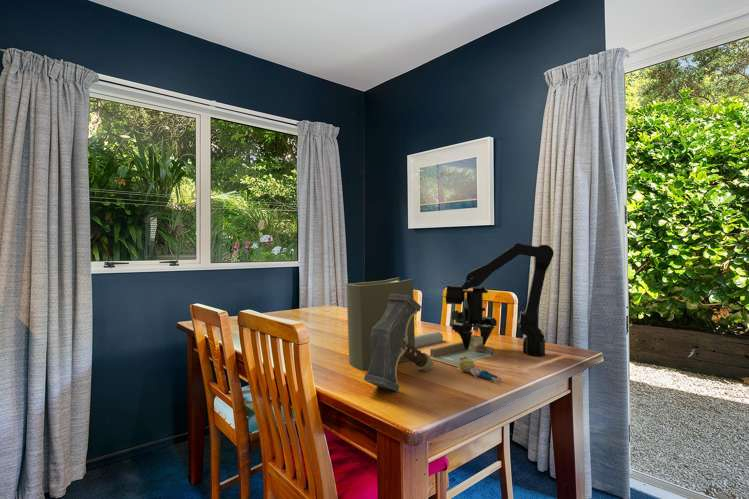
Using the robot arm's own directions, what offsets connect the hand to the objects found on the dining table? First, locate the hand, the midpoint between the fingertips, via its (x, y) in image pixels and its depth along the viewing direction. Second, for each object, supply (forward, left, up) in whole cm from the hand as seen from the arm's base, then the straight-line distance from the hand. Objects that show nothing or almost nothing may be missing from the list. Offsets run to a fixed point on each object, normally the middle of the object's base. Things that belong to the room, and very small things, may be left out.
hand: (474, 347), depth 152 cm
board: (-2, +8, -2) cm, 8 cm away
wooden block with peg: (-3, 0, -1) cm, 3 cm away
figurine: (-18, +20, -2) cm, 27 cm away
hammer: (-8, +41, -2) cm, 42 cm away
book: (+12, +34, -2) cm, 36 cm away
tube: (+19, +10, -2) cm, 22 cm away
